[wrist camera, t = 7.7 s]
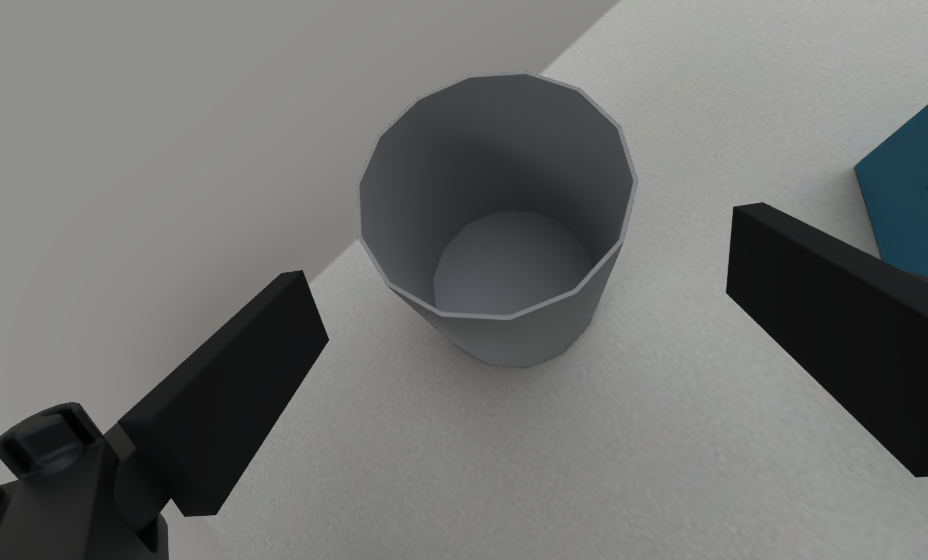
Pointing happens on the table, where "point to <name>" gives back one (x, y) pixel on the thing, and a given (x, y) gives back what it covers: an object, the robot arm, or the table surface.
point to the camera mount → (900, 195)
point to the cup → (499, 212)
